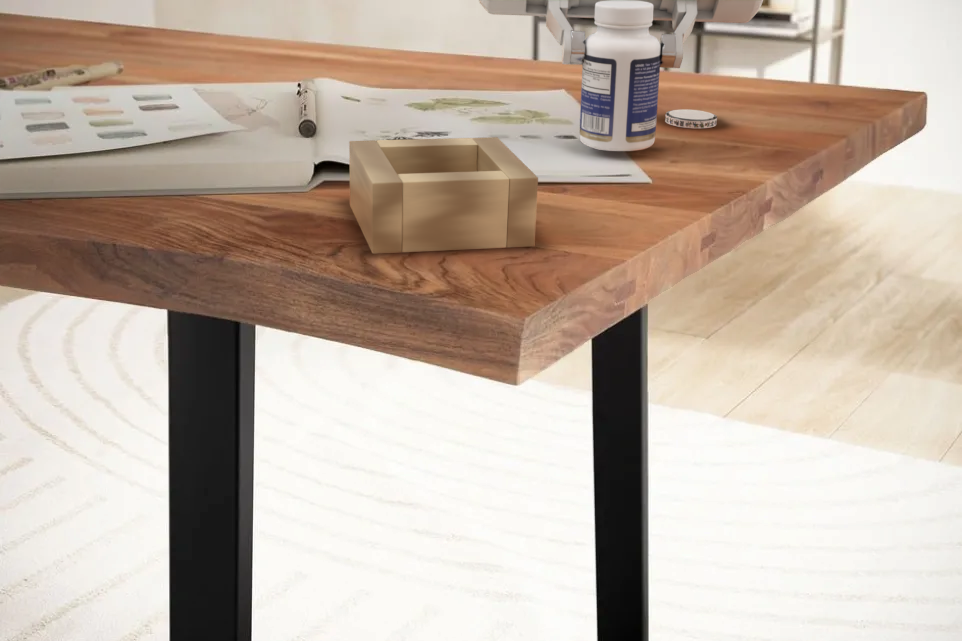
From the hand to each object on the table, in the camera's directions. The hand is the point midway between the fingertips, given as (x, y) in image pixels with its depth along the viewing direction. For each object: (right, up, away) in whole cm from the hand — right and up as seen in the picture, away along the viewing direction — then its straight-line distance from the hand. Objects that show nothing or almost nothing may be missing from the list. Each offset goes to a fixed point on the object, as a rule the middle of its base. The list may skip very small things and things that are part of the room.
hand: (622, 61), depth 85 cm
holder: (-12, -12, -14) cm, 22 cm away
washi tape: (+7, -2, +12) cm, 14 cm away
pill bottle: (0, -5, +3) cm, 6 cm away
